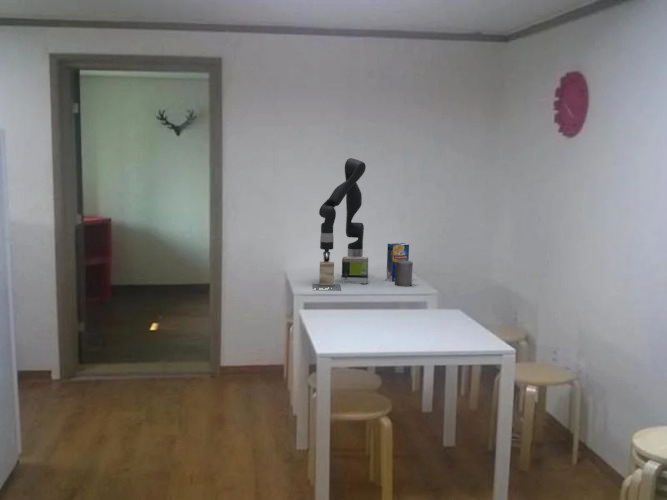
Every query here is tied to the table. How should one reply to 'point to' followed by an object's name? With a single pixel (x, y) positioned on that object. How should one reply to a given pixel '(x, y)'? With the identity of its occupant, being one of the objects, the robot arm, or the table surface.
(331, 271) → the block
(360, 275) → the tea box
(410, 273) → the pillar candle
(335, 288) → the mat
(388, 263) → the blue food box
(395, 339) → the table surface
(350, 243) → the robot arm
